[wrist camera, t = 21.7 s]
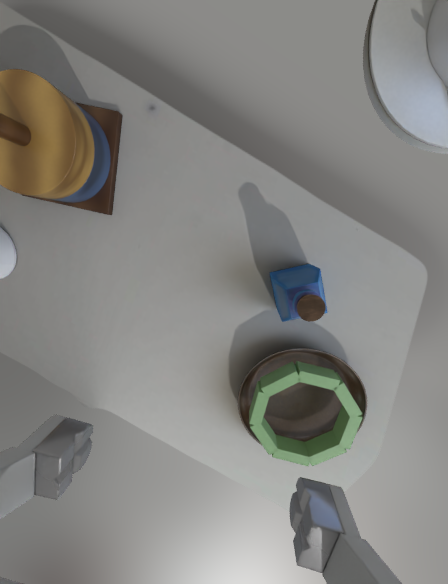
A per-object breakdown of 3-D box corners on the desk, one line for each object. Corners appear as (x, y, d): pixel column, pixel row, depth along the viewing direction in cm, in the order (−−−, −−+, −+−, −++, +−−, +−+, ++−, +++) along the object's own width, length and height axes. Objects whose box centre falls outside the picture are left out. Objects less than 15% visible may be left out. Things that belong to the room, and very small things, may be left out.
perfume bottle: (308, 263, 39) (335, 275, 27) (315, 301, 40) (343, 328, 28) (269, 272, 40) (278, 288, 28) (277, 309, 41) (288, 338, 29)
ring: (365, 377, 39) (374, 388, 36) (333, 458, 42) (339, 474, 39) (265, 353, 39) (266, 362, 36) (242, 434, 43) (241, 449, 40)
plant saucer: (290, 462, 47) (294, 479, 44) (214, 388, 45) (212, 400, 42) (383, 400, 43) (395, 414, 40) (304, 315, 41) (309, 322, 38)
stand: (122, 115, 37) (57, 52, 24) (112, 215, 40) (49, 205, 27) (30, 96, 37) (-81, 24, 25) (27, 196, 41) (-71, 178, 28)
